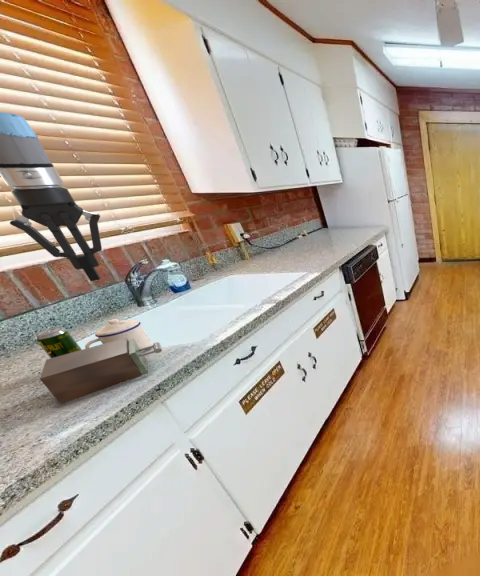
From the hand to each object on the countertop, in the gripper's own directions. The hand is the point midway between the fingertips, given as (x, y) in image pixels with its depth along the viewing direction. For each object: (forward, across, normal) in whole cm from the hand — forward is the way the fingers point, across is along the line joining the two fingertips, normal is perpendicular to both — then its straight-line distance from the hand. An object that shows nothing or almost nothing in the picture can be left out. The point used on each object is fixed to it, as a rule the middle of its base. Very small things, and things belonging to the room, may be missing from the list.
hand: (95, 279), depth 79 cm
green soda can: (+29, -14, +16) cm, 36 cm away
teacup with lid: (+28, -4, +13) cm, 31 cm away
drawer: (+28, -4, -3) cm, 28 cm away
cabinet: (+28, -8, -3) cm, 30 cm away
